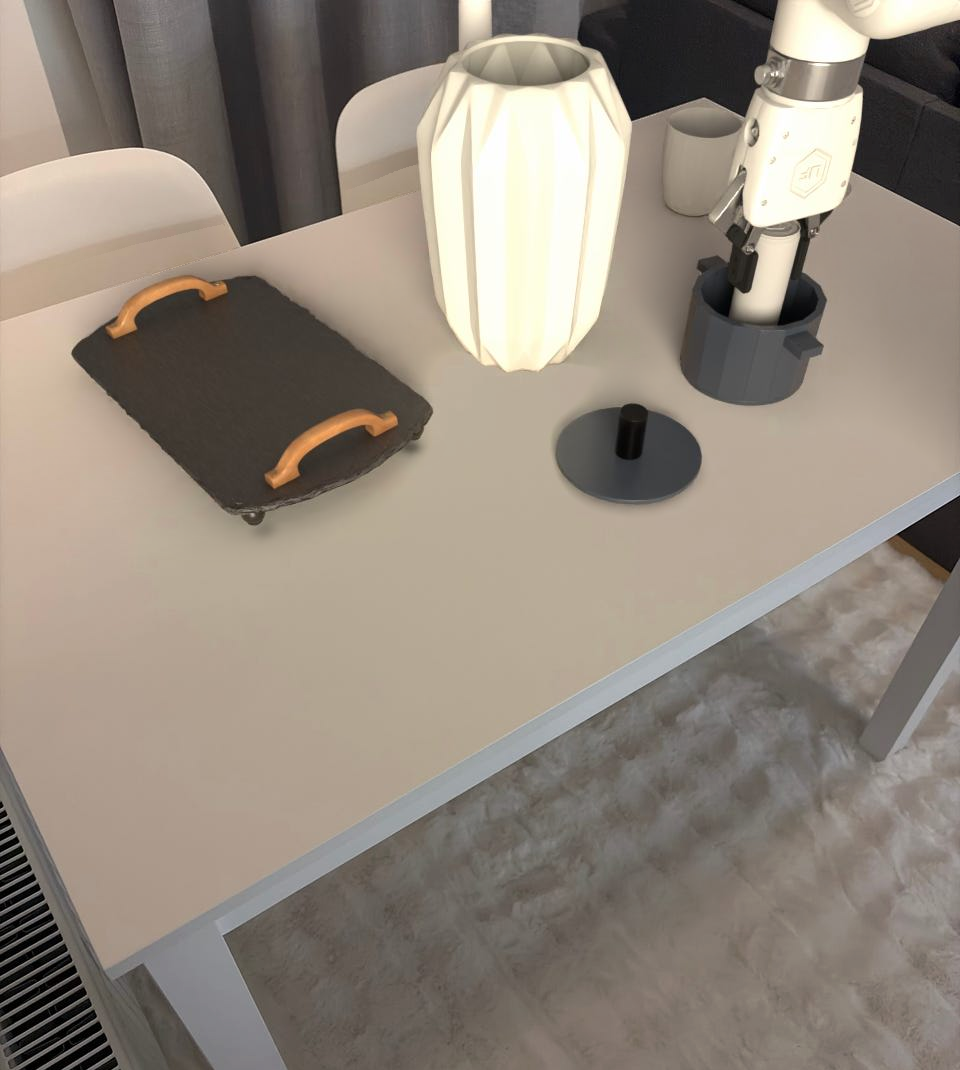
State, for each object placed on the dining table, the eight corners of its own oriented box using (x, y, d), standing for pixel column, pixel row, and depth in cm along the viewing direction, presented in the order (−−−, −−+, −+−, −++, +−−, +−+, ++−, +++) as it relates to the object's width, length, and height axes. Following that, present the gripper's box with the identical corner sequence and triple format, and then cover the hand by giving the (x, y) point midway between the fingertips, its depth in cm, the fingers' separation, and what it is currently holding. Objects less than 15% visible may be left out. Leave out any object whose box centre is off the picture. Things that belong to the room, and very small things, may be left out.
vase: (429, 399, 96) (410, 110, 74) (429, 295, 108) (413, 21, 87) (620, 394, 96) (657, 103, 75) (599, 291, 108) (624, 16, 87)
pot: (744, 311, 105) (760, 237, 99) (845, 401, 95) (871, 325, 88) (645, 338, 102) (655, 264, 96) (738, 434, 92) (757, 358, 85)
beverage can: (776, 353, 94) (807, 237, 85) (728, 353, 94) (753, 238, 85) (767, 326, 97) (796, 211, 88) (720, 326, 97) (744, 212, 88)
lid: (653, 402, 95) (660, 353, 91) (728, 484, 87) (740, 435, 83) (531, 437, 92) (532, 389, 87) (597, 526, 84) (603, 478, 79)
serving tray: (62, 361, 101) (40, 308, 96) (249, 284, 110) (237, 232, 105) (254, 557, 82) (239, 503, 77) (460, 444, 91) (458, 390, 86)
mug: (643, 208, 120) (653, 125, 113) (678, 182, 125) (690, 100, 117) (733, 237, 116) (750, 153, 108) (766, 208, 120) (785, 125, 112)
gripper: (749, 107, 72) (707, 320, 86) (927, 69, 77) (860, 279, 91) (696, 72, 77) (665, 280, 91) (867, 39, 81) (812, 243, 95)
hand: (763, 277), depth 91 cm, fingers closed on beverage can, 4 cm apart
